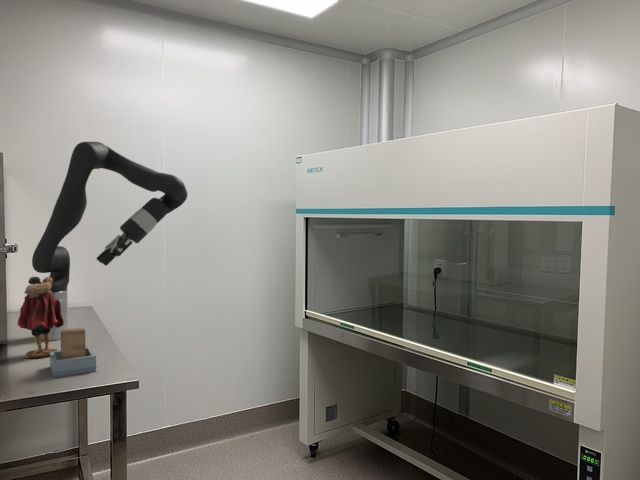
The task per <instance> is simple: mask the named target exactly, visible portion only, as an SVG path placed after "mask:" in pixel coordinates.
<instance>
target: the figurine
mask: <svg viewBox="0 0 640 480" xmlns="http://www.w3.org/2000/svg"><path fill="white" fill-rule="evenodd" d="M41 280H42V281H41ZM52 281H53V279H52V278H51V277H49V276H45V277H44V278H43V279H41V278H40V277H38V276H31V277H30V278H29V279H28V285H27V286H26V287H25V289H24V292H23V293H24V294H25V296H24V300H23V303H22V305H21V306H20V308H19V317H18V320H17V326H18V327H20V329H24V330H28V331H31V335H32V336H33V338H34V340H35V343H36V345H37V349H36V348H35V349H34V350H29V351H27V352H25V354H24V355H23V357H24V358H27V359H30V358H31V359H33V358H43V357H47V356H50V352H53V351H58V349H56V348H49V343H50V340H49V332H50V329H52V328H53V327H54V326H55V327H56V328H58V327H61V326H63V325H64V321H63V318H62V315H61V305H60V302H59V300H57V299H55V298H54V297H53V296H52V294H51V292H52V291H49V290H50V289H51V287H52ZM41 282H42V283H41ZM41 334H43V338H44V340H43V341H44V348H43V346H42V340H41V336H40V335H41Z"/></svg>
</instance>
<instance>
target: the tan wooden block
mask: <svg viewBox="0 0 640 480" xmlns="http://www.w3.org/2000/svg"><path fill="white" fill-rule="evenodd" d="M85 348H86V330H85V328H84V326H82V327H73V328H68V329H62V330H61V339H60V351H61V360H62V359H70V358H77V357H85Z"/></svg>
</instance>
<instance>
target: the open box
mask: <svg viewBox="0 0 640 480" xmlns="http://www.w3.org/2000/svg"><path fill="white" fill-rule="evenodd" d="M49 368H50V370H51V375H52V377H53V378H59V377H60V378H61V377H66V376H72V375H80V374H87V373H94V372H97V355H96V353H95V352H94V350H93V348H92V346H85V357H77V358H70V359H62V360H61V350H57V351H53V352H50V355H49Z"/></svg>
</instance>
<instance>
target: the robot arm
mask: <svg viewBox="0 0 640 480" xmlns="http://www.w3.org/2000/svg"><path fill="white" fill-rule="evenodd" d="M98 169H103V170H108V171H111V172H114V173H117V174H119V175H120V176H121V177H123V178H125V180H126V181H128V182H130V183H131V184H133V185H135V186H137V187H139V188H142V189H144V190H146V191H149V192H152V193H156V192H158V191H159V192H161V193H163V194H164V195H162V196H160V197H159V198H157V197H152V198H151V199H149V200H148V201H147V202H145V204H144V205H143V206H142V207H141V208H139V209H138V210H136V211H135V212H134V213H133V214H132V215H131V216H130V217H129V218H128V219H127V220H126V221H124V223H122V224H121V225H120V226H119V230H120V231H121V232H122V234H121V235H120V234H118V235H116V237H115V238H114V239H112V240H111V241H110V242H109V243H108V244H107V245H105V247H104V250H103V251H102V252H101V253H100V254H99V255H98V256H97V257H96V260H97V262H99V263H101V264H102V265H104V266H108V265H109V264H111V262H112V261H113V260H114V259H115V258H118V257H120V256H121V255H122V254H123V253H124V252H125V251H126V250H127V249H128V248H129V247H130V246H131V245H133V243H134V244H139V243H140V242H141V241H142V240H143V239H144V238H145V237H146V236H147V235H148V234H149V233H150V232H152V230H153V229H155V227H156V225H158V224H159V222H161V220H162V219H164V217H165V216H166V215H168V214H170V213H171V212H173V211H175V210H176V209H178V208H179V207H180V206H182V205H183V204H184V203H185V202H186V201H187V198H188V190H187V187H186V184H185V182H184V181H183V179H181V178H180V177H178V176H176V175H173V174H169V173H164V172H159V171H156V170H154V169H152V168H149V167H147V166H145V165H142V164H140V163H138V162H135V161H133V160H131V159H129V158H127V157H125V156H123V155H122V154H120V153H118V152H117V151H115V150H114V149H113V148H111V147H109V146H107V145H106V144H105V143H103V142H99V141H81V142H78V144H76V145H75V147H74V148H73V150H72V153H71V156H70V160H69V165H68V168H67V173H66V175H65V179H64V181H63V183H62V187H61V189H60V193H59V194H58V197H57V199H56V202H55V205H54V207H53V209H52V213H51V216H50V218H49V221H48V223H47V225H46V228H45V230H44V232H43V235H42V236H41V238H40V240H39V242H38V243H37V245H36V247H35V250H34V252H33V255H32V257H31V259H32V260H31V265H32V268H33V270H34V271H35V272H37V273H40V274H46V273H47V274H49V276H48V277H51V278H52V279H53V281H52V287H51V289H50V290H49V291H52V292H51V294H52V296H53V297H54V298H55V299H57V300H59V302H60V305H61V315H62V318H63V321H64V325H63V326H61V327H58V328H56V327H55V326H54V327H53V328H52V329H50V332H49V341H56V340H57V341H58V340H61V330H62V329H69V328H68V326H69V325H68V323H69V322H68V321H69V320H68V318H69V316H68V286H69V283H70V270H71V257H70V253H69V251H68V249H67V248H66V247H65V246H59V244H60V243H61V242H62V240H63V239H64V238H65V237H66V236H67V235H68V234H70V233H71V232H72V231H74V229H75V228H76V227H77V226H78V225H79V223H81V220H82V218H83V216H84V213H85V210H86V208H87V204H88V200H87V199H88V198H87V192H86V190H87V189H86V187H87V182H88V180H89V178H90V176H91V173H92V172H93V170H98ZM41 283H42V281H41ZM40 336H41V341H44V338H43V334H41V335H40Z"/></svg>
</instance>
